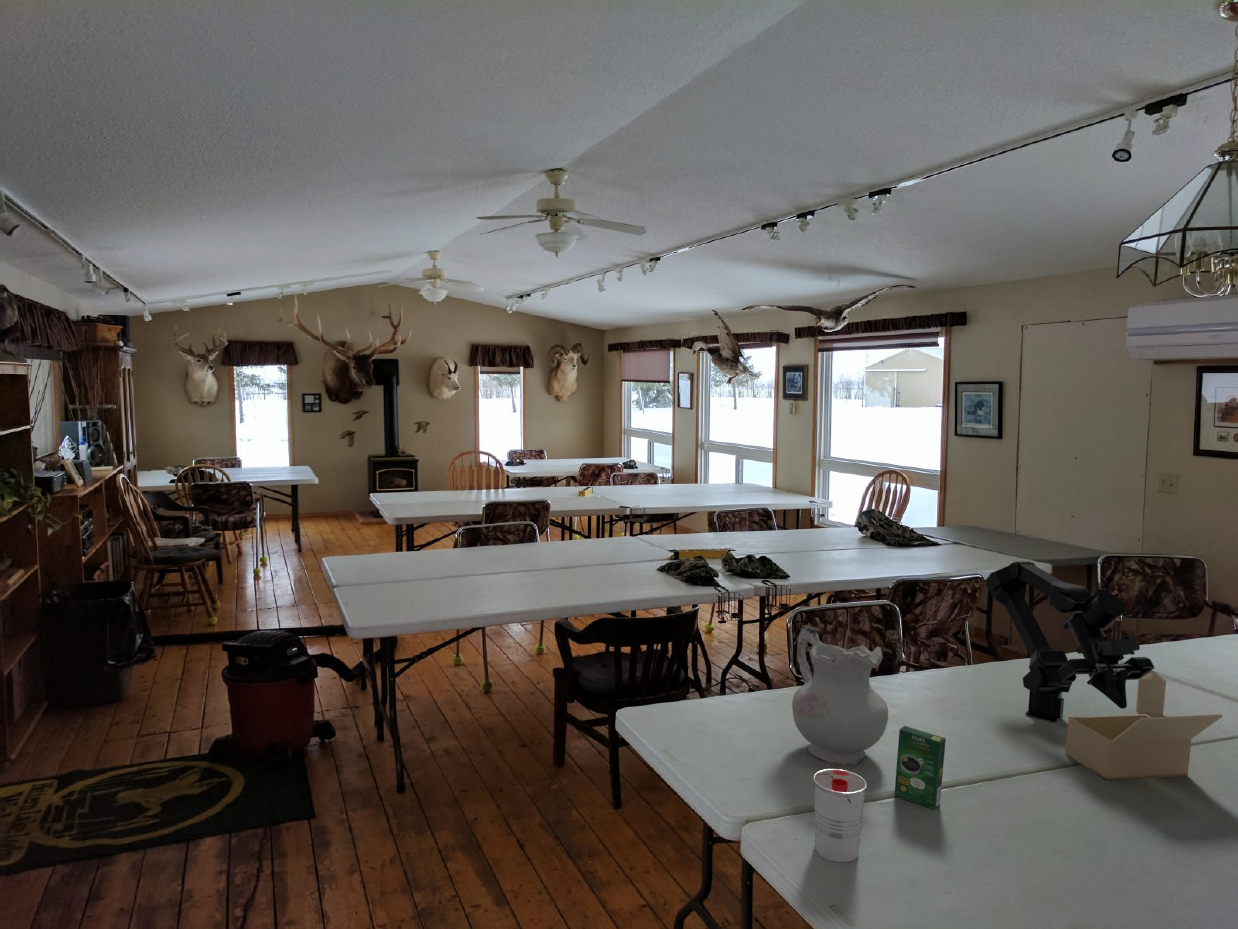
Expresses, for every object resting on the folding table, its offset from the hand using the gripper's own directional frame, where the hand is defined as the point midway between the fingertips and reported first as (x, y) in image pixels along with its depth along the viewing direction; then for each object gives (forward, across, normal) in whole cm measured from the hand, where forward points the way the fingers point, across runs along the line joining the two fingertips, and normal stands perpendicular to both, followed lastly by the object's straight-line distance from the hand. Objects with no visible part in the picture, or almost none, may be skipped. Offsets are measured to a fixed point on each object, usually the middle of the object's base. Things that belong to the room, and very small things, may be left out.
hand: (1124, 707), depth 174 cm
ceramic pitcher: (+1, -58, +16) cm, 60 cm away
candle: (-8, +27, +25) cm, 38 cm away
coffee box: (+16, -51, 0) cm, 53 cm away
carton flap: (+8, 0, -8) cm, 11 cm away
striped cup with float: (+27, -72, -10) cm, 78 cm away
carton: (+9, 0, +7) cm, 12 cm away
